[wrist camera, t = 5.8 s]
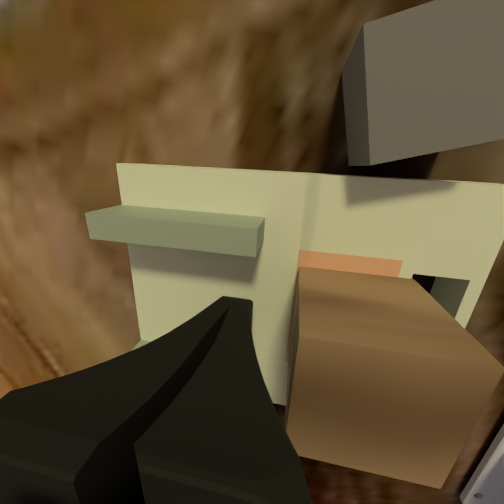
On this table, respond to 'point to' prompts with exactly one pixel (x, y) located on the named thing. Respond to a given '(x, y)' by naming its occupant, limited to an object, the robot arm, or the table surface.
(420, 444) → the walnut block
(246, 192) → the board
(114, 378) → the robot arm
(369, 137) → the charcoal block
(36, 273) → the table surface
